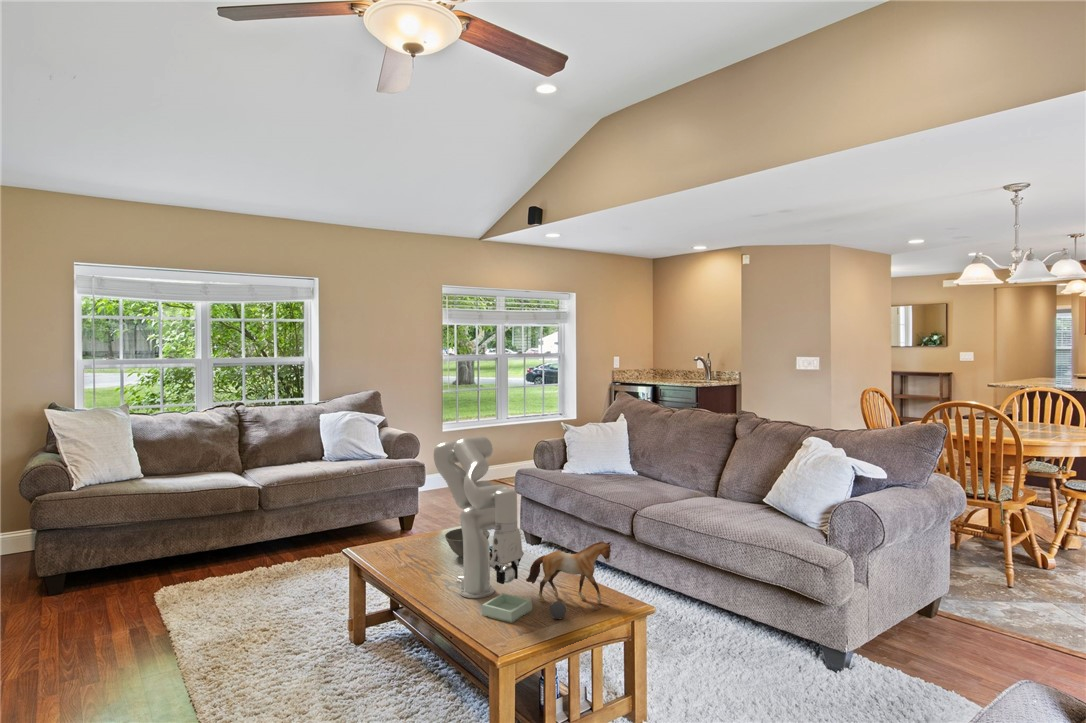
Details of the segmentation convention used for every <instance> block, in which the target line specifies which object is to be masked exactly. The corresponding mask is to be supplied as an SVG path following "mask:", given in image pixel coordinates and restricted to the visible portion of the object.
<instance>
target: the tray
mask: <svg viewBox="0 0 1086 723" xmlns="http://www.w3.org/2000/svg"><path fill="white" fill-rule="evenodd" d="M532 610H533V600H532V599H529V598H525V597H523V596H522V597H521V596H517V595H513V594H509V593H504V592H502V593H501V594H498V595H497V596H495V597H493V598H492V599H490V600H488V601H486V602H484V603H483V604H481V616H483V615H485V616H484V617H487V616H488V617H487V618H491V619H495V620H499V621H503V622H506V623H510V624H513V623H514V622H516V621H517V620H519V619H520V618H522V617H523V615H524V616H525V615H527V614H528V613H530V612H531V611H532Z"/></svg>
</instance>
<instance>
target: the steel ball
mask: <svg viewBox="0 0 1086 723" xmlns="http://www.w3.org/2000/svg"><path fill="white" fill-rule="evenodd" d="M503 572H504V581H505V583H504V584H508V583H512V582H513V581H514V580H515V579H514V578H515V570H514V569H513V567H511V566H510V565H504V568H503Z"/></svg>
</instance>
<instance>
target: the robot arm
mask: <svg viewBox="0 0 1086 723" xmlns="http://www.w3.org/2000/svg"><path fill="white" fill-rule="evenodd" d="M492 454H493V444H492V442H491V440H490V439H488V437H486V436H472V437H463V438H459V440H452V441H451V440H450V441H444V442H441V443H439V444H437V445H436V446H435V448H434V449H433V461H434V466H435V468H436V470H437V472H438V473H439V475H440V476H441V477H442V478H443V480H444V481H445V483H446V484H447V487H448V489H449V491H450V493H451V495H452V498H453V500H454V502H455V504H456V505H457V507H458V508H459V509H463V510H462V511H461V512H460V514H459V522H460V528H462V534H463V558H462V559H463V562H462V564H463V576H461V575H459V576H458V578H457V579H456V581H455V583H456V584H458V585H461V587H460V588H459V594H460V595H461V596H462V597H464V598H467V599H482V598H487V597H490V596H492V595H493V593H494V592H495V587H494V585H492V584H491V572H490V571H491V568H493V569H494V572H496V583H498V584H501V585H505V584H506V583H505V581H504V572H503V568H504V566H505V565H506V564H509V563H510V565H509V566H511V567H513V569H514V570H515V578H514V580H518V578H519V572H518V571H519V568H518V567H519V566H520V562H521V560H522V558H523V556H524V554H525V553H524V551H523V544H522V538H521V537H522V536H521V531H520V529H519V528H518V493H517V491H516V490H515V489H513V488H509V487H508V486H507V485H505V484H493V482H491V481H490V480H489V481H488V480H480V479H482V478H483V477H484V476H485V475H486V474H487V473H488V471H489V468H490V466H489V462H488V461H487V459H489V458H490V457H492ZM457 463H459V464H460V465H461V466H460V465H458V464H457ZM490 530H491V531H494V532H493V538H492V551H490V541H489V538H488V539H487V538H486V537H485V536H484V534H483V532H484V531H490ZM490 552H492V557H490V555H491V554H490ZM490 567H491V568H490Z"/></svg>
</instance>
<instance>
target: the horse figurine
mask: <svg viewBox="0 0 1086 723" xmlns="http://www.w3.org/2000/svg"><path fill="white" fill-rule="evenodd" d="M612 545H613V543H612V541H608V542H605V541H599V542H598V541H597V542H595V543H591V544H590V545H589V546H587V547H585V548H584V549H582V550H580V551H578V552H577V553H566V552H564V551H561V550H555V551H552V552H550V553H547V554H546V555H542V556H540V557H538V558H536V559H535V560H534V561H533V562H532V564H531V566H530V567H529V568H530V569H529V575H528V577H527V578H525V581H526V582H528V583H531V584H535V583H536V581H537V579H538V578H539V576H540V572H541V565H542V571H543V574H544V575H543V579H542V580H541V581H540V582H539V591H538V592H539V593H538V596H539V601H540V602H541V603H544V602H546V599H545V598H544V596H543V590H544V587H545V585H546V584H547V583H549V585H550V586H551V588H552V591H553V592H554V593H553V595H554V597H555V598H556V599H558V598H559V597H558V596H559V592H558V589H557V587H556V586H555V584H554V581H553V580H554V578H556V577H557V576H558V575H559V573H560V572H562V573H565V574H569V575H570V574H571V575H580V578H579V586H578V587H579V588H578V593H577V594H578V595H579V596H580V598H579V599H580V600H581V599H582V600H581V601H586V600H587V599H586V597H585V596H584V595H583V593H582V589H583V586H584V581H585V578H586V579H587V580H588V581H589V583H591V584H592V586H593V587H594V588H595V590H596V593H597V600H596V601H597V603H598V604H599V605H601V604H602V594H601V592H600V588H599V585H598V584H597V582H596V579H595V577H594V573H595V564H596V562H597V560H598V558H599V556H600V555H602V557H603V558H604V560H605V562H606V563H610V562H611V552H612V550H611V546H612Z"/></svg>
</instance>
